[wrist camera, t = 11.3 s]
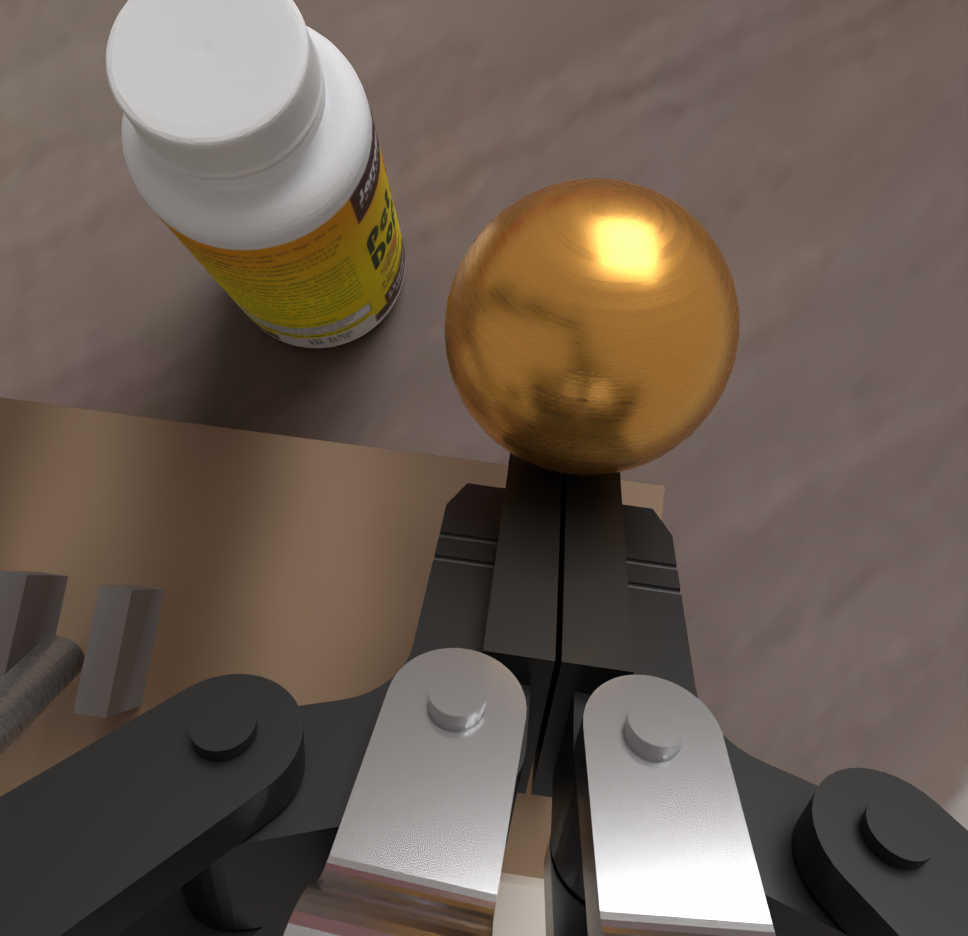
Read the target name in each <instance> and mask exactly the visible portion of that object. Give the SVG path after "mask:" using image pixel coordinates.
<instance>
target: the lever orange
mask: <svg viewBox="0 0 968 936" xmlns="http://www.w3.org/2000/svg"><path fill="white" fill-rule="evenodd" d="M738 341H739V304H738V299H737V294H736V290H735V285H734V280H733V278H732V275H731V273H730V270H729V268H728V265H727V263H726V260H725V258H724V256H723V254H722V252H721V251H720V249H719V247H718V246H717V244H716V243H715V241H714V240H713V238H712V237H711V235H710V234H709V233H708V231H707V230H706V229H705V228H704V227H703V225H702V224H700V223H699V222H698V221H697V220H696V219H695V218H694V217H693V216H692V215H691V214H690V213H689V212H688V211H687V210H685V209H684V208H683V207H682V206H680V205H679V204H678V203H676V202H674V201H673V200H671V199H669V198H668V197H666V196H664V195H662V194H660V193H658V192H656V191H653V190H651V189H649V188H646V187H644V186H641V185H637V184H634V183H630V182H626V181H620V180H614V179H580V180H572V181H565V182H561V183H557V184H554V185H551V186H548V187H546V188H543V189H540V190H538V191H535V192H533V193H531V194H529V195H527V196H525V197H523V198H522V199H520V200H518V201H517V202H515V203H514V204H512V205H511V206H509V207H508V208H506V209H505V210H503V211H502V212H501V213H500V214H499V215H498V216H497V217H495V218H494V219H493V220H492V221H491V222H490V223H489V224H488V225H487V226H486V227H485V228H484V229H483V231H482V232H481V233H480V234H479V235H478V237H477V238H476V239H475V241H474V242H473V244H472V245H471V246H470V248H469V249H468V251H467V253H466V254H465V256H464V258H463V260H462V262H461V264H460V266H459V268H458V270H457V272H456V275H455V278H454V281H453V283H452V287H451V290H450V294H449V297H448V302H447V310H446V318H445V342H446V354H447V359H448V363H449V367H450V371H451V374H452V378H453V381H454V383H455V386H456V388H457V390H458V393H459V395H460V397H461V399H462V401H463V403H464V404H465V406H466V408H467V409H468V411H469V412H470V414H471V415H472V417H473V418H474V419H475V420H476V422H477V423H478V424H479V425H480V426H481V427H482V429H483V430H484V431H485V432H486V433H487V434H488V435H489V436H490V437H491V438H492V439H493V440H494V441H495V442H497V443H498V444H499V445H501V446H502V447H503V448H505V449H506V450H508V451H509V452H511V453H512V454H514V455H515V456H517V457H519V458H521V459H523V460H524V461H526V462H529V463H531V464H533V465H536V466H538V467H541V468H544V469H547V470H551V471H554V472H559V473H562V475H563V473H565V474H571V475H584V476H585V475H603V474H610V473H617V472H622V471H626V470H630V469H634V468H636V467H639V466H642V465H644V464H647V463H649V462H651V461H653V460H655V459H657V458H659V457H661V456H663V455H664V454H666V453H668V452H670V451H671V450H672V449H674V448H675V447H676V446H678V445H679V444H680V443H681V442H683V441H684V440H685V439H686V438H688V437H689V436H690V435H691V434H692V433H693V432H694V431H695V430H696V429H697V428H698V427H699V426H700V425H701V424H702V422H703V421H704V420H705V419H706V418H707V417H708V415H709V414H710V413H711V411H712V410H713V408H714V407H715V405H716V403H717V402H718V400H719V398H720V397H721V395H722V393H723V391H724V390H725V387H726V385H727V382H728V380H729V377H730V374H731V372H732V369H733V366H734V363H735V358H736V353H737V347H738Z"/></svg>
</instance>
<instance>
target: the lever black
mask: <svg viewBox="0 0 968 936" xmlns="http://www.w3.org/2000/svg"><path fill="white" fill-rule="evenodd" d="M84 658H85V656H84V653H83V651H82V650H81V648H80V647H79V646H78V645H77V644H76V643H75V642H73V641H72V640H70V639H68V638H66V637H63V636H49V637H46V638H45V639H43V640H42V641H41V642H40V643H39V644H38V645H37V646H35V647H34V648H33V649H32V650H31V651H30V652H29V653H28V654H27V655H26V656H25V657H23V658H22V659H21V660H20V661H19V662H18V663H17V664H16V665H15V666H14V667H13V668H11V669H10V670H9V671H8V672H7V673H6V674H5V675H4V676H3V677H2V678H1V679H0V758H1V756H2V755H3V754H4V753H5V752H6V751H7V750H8V749H9V748H10V747H11V746H12V745H13V744H14V743H15V742H16V741H17V739H18V738H19V737H20V736H21V735H22V734H23V733H24V732H25V731H26V730H27V729H28V728H29V727H30V726H31V725H32V724H33V723H34V721H35V720H36V719H37V718H38V717H39V716H40V715H41V714H42V713H43V712H44V711H45V710H46V709H47V708H48V707H49V706H50V704H51V703H52V702H53V701H54V700H55V699H56V698H57V697H58V696H59V695H60V694H61V693H62V692H63V691H64V690H65V689H66V687H67V686H68V685H69V684H70V683H71V682H72V681H73V680H74V679H75V678H76V677H77V676H78V675H79V674H80V673H81V672H82V667H83V662H84Z"/></svg>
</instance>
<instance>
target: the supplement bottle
mask: <svg viewBox="0 0 968 936" xmlns="http://www.w3.org/2000/svg"><path fill="white" fill-rule="evenodd" d="M106 71H107V78H108V82H109V86H110V89H111V92H112V94H113V96H114V98H115V100H116V102H117V104H118V106H119V107H120V109H121V110H122V112H123V117H122V129H121V134H122V147H123V153H124V157H125V161H126V164H127V168H128V170H129V173H130V176H131V178H132V180H133V182H134V184H135V186H136V188H137V189H138V191H139V192H140V194H141V195H142V197H143V198H144V200H145V201H146V202H147V203H148V205H149V206H150V207H151V208H152V210H153V211H154V212H155V213H156V214H157V215H158V216H159V218H160V219H161V220H162V221H163V222H164V223H165V224H166V225H167V226H168V227H169V229H170V230H171V231H172V232H173V233H174V234H175V235H176V236H177V238H178V239H179V240H180V241H181V242H182V243H183V244H184V245H185V246H186V247H187V249H188V250H189V251H190V252H191V253H192V254H193V255H194V257H195V258H196V259H197V260H198V261H199V262H200V263H201V264H202V266H203V267H204V268H205V269H206V270H207V271H208V272H209V273H210V274H211V276H212V277H213V278H214V279H215V280H216V281H217V282H218V284H219V285H220V286H221V287H222V288H223V289H224V290H225V291H226V292H227V293H228V295H229V296H230V297H231V298H232V299H233V300H234V301H235V303H236V304H237V305H238V306H239V307H240V308H241V309H242V310H243V312H244V313H245V314H246V315H247V316H248V317H249V318H250V319H251V320H252V321H253V322H254V323H255V324H256V325H257V326H258V327H259V328H261V329H262V330H263V331H264V332H266V333H267V334H269V335H270V336H272V337H274V338H275V339H278V340H280V341H282V342H285V343H287V344H290V345H294V346H298V347H304V348H328V347H335V346H338V345H342V344H345V343H348V342H351V341H353V340H355V339H357V338H359V337H361V336H363V335H365V334H366V333H368V332H369V331H370V330H372V329H373V328H374V327H375V326H377V325H378V324H379V323H380V322H381V321H382V320H383V319H384V318H385V316H386V315H387V314H388V313H389V311H390V310H391V309H392V307H393V305H394V304H395V302H396V300H397V298H398V295H399V293H400V290H401V287H402V284H403V280H404V274H405V251H404V246H403V240H402V236H401V232H400V228H399V224H398V220H397V215H396V211H395V207H394V203H393V199H392V195H391V191H390V187H389V183H388V179H387V175H386V169H385V166H384V161H383V158H382V154H381V151H380V147H379V143H378V138H377V135H376V131H375V127H374V123H373V118H372V113H371V110H370V107H369V104H368V101H367V98H366V95H365V92H364V89H363V87H362V84H361V82H360V80H359V78H358V76H357V74H356V72H355V71H354V69H353V67H352V66H351V64H350V63H349V62H348V60H347V59H346V58H345V57H344V55H343V54H342V53H341V52H340V51H339V50H338V49H337V48H336V47H335V46H334V45H333V44H332V43H331V42H330V41H328V40H327V39H326V38H325V37H323V36H322V35H320V34H319V33H317V32H316V31H314V30H313V29H311V28H309V27H307V26H306V25H305V22H304V20H303V17H302V15H301V13H300V11H299V9H298V8H297V6H296V5H295V3H294V2H293V0H128V2H127V3H126V4H125V6H124V7H123V8H122V10H121V11H120V13H119V14H118V16H117V18H116V20H115V22H114V25H113V27H112V30H111V32H110V36H109V39H108V43H107V48H106Z"/></svg>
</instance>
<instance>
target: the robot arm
mask: <svg viewBox="0 0 968 936" xmlns="http://www.w3.org/2000/svg"><path fill="white" fill-rule="evenodd" d="M676 565H677V564H676V558H675V551H674V545H673V538H672V535H671V533H670V532H669V531H668V529H667V528H666V526H665V525H664V524H663V522H662V521H661V519H660V518H659V517H658V515H657V514H656V512H655V511H654V510H653V509H652V508H645V507H637V506H630V505H623V504H622V493H621V480H620V472H617V473H610V474H603V475H585V476H584V475H571V474H565V473H563V475H562V473H559V472H554V471H551V470H547V469H544V468H541V467H538V466H536V465H533V464H531V463H529V462H526V461H524V460H523V459H521V458H519V457H517V456H515V455H514V454H512V453H511V452H510V458H509V465H508V473H507V480H506V487H505V488H499V487H492V486H485V485H477V484H470V483H467V484H466V485H465V486H464V487H463V488H462V489H461V490H460V491H459V492H458V493H457V494H456V495H455V496H454V497H453V498H452V499H451V500H450V501H449V502H448V503H447V504H446V508H445V512H444V517H443V521H442V525H441V529H440V535H439V538H438V542H437V546H436V550H435V555H434V560H433V563H432V567H431V571H430V575H429V579H428V584H427V588H426V592H425V596H424V600H423V605H422V609H421V613H420V617H419V621H418V626H417V630H416V634H415V638H414V642H413V646H412V649H411V652H410V655H409V657H408V659H407V660H406V662H405V664H404V665H403V666H402V668H401V669H400V670H399V671H398V673H397V674H395V675H394V676H393V677H392V678H391V679H390V680H389V681H387V682H386V683H384V684H383V685H381V686H380V687H378V688H376V689H374V690H372V691H370V692H368V693H365V694H362V695H359V696H356V697H353V698H348V699H343V700H336V701H329V702H322V703H315V704H308V705H301V706H298V704H297V702H296V701H295V699H294V698H293V697H292V695H291V694H290V693H289V692H288V691H287V690H286V689H285V688H283V687H282V686H281V685H279V684H277V683H276V682H274V681H272V680H269V679H267V678H264V677H261V676H256V675H251V674H228V675H221V676H217V677H212V678H209V679H206V680H204V681H201V682H198V683H196V684H194V685H192V686H190V687H188V688H186V689H185V690H183V691H181V692H179V693H178V694H176V695H174V696H172V697H171V698H169V699H167V700H166V701H164V702H162V703H160V704H159V705H157V706H155V707H154V708H152V709H150V710H148V711H147V712H145V713H143V714H142V715H140V716H138V717H136V718H135V719H133V720H131V721H130V722H128V723H126V724H124V725H123V726H121V727H119V728H117V729H116V730H114V731H112V732H111V733H109V734H107V735H105V736H104V737H102V738H100V739H99V740H97V741H95V742H93V743H92V744H90V745H88V746H87V747H85V748H83V749H81V750H80V751H78V752H76V753H74V754H73V755H71V756H69V757H68V758H66V759H64V760H62V761H61V762H59V763H57V764H56V765H54V766H52V767H50V768H49V769H47V770H45V771H44V772H42V773H40V774H38V775H37V776H35V777H33V778H31V779H30V780H28V781H26V782H25V783H23V784H21V785H19V786H18V787H16V788H14V789H13V790H11V791H9V792H7V793H6V794H4V795H2V796H1V797H0V936H282V935H283V936H492V933H493V919H494V913H495V906H496V900H497V893H498V887H499V881H500V875H501V869H502V863H503V856H504V850H505V847H506V844H507V840H508V835H509V830H510V825H511V821H512V816H513V811H514V806H515V802H516V797H517V793H523V794H526V790H527V785H528V781H529V776H530V772H531V767H532V763H533V772H532V789H531V794H532V795H539V796H545V797H552V813H551V835H550V838H549V842H548V846H547V849H546V854H545V858H544V896H545V926H546V936H968V831H967V830H966V829H965V828H964V827H963V826H962V825H961V824H959V823H958V822H957V821H956V820H955V819H954V818H953V817H952V816H951V815H949V814H948V813H947V812H946V811H945V810H944V809H943V808H942V807H940V806H939V805H938V804H937V803H936V802H935V801H933V800H932V799H931V798H930V797H928V796H927V795H926V794H925V793H923V792H922V791H920V790H919V789H917V788H916V787H914V786H913V785H911V784H909V783H907V782H905V781H903V780H902V779H900V778H898V777H895V776H892V775H890V774H887V773H885V772H881V771H877V770H873V769H865V768H848V769H844V770H840V771H836V772H835V773H833V774H831V775H829V776H827V777H826V778H825V779H824V780H823V781H822V782H821V783H820V785H819V786H817V785H814V784H812V783H810V782H808V781H805V780H803V779H801V778H798V777H796V776H794V775H792V774H789V773H787V772H785V771H782V770H780V769H778V768H776V767H773V766H771V765H769V764H767V763H764V762H762V761H760V760H758V759H756V758H754V757H752V756H750V755H749V754H747V753H746V752H744V751H743V750H741V749H739V748H738V747H737V746H735V745H734V744H733V743H732V742H730V741H729V740H728V739H727V738H726V737H725V736H724V735H723V734H722V732H721V729H720V726H719V725H718V723H717V721H716V719H715V717H714V716H713V715H712V713H711V712H710V711H709V709H708V708H707V707H706V706H705V705H704V704H703V703H702V702H701V701H700V700H699V699H698V696H697V692H696V688H695V682H694V676H693V669H692V663H691V656H690V649H689V643H688V636H687V630H686V623H685V617H684V610H683V604H682V597H681V595H680V584H679V577H678V571H677V570H676Z"/></svg>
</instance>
